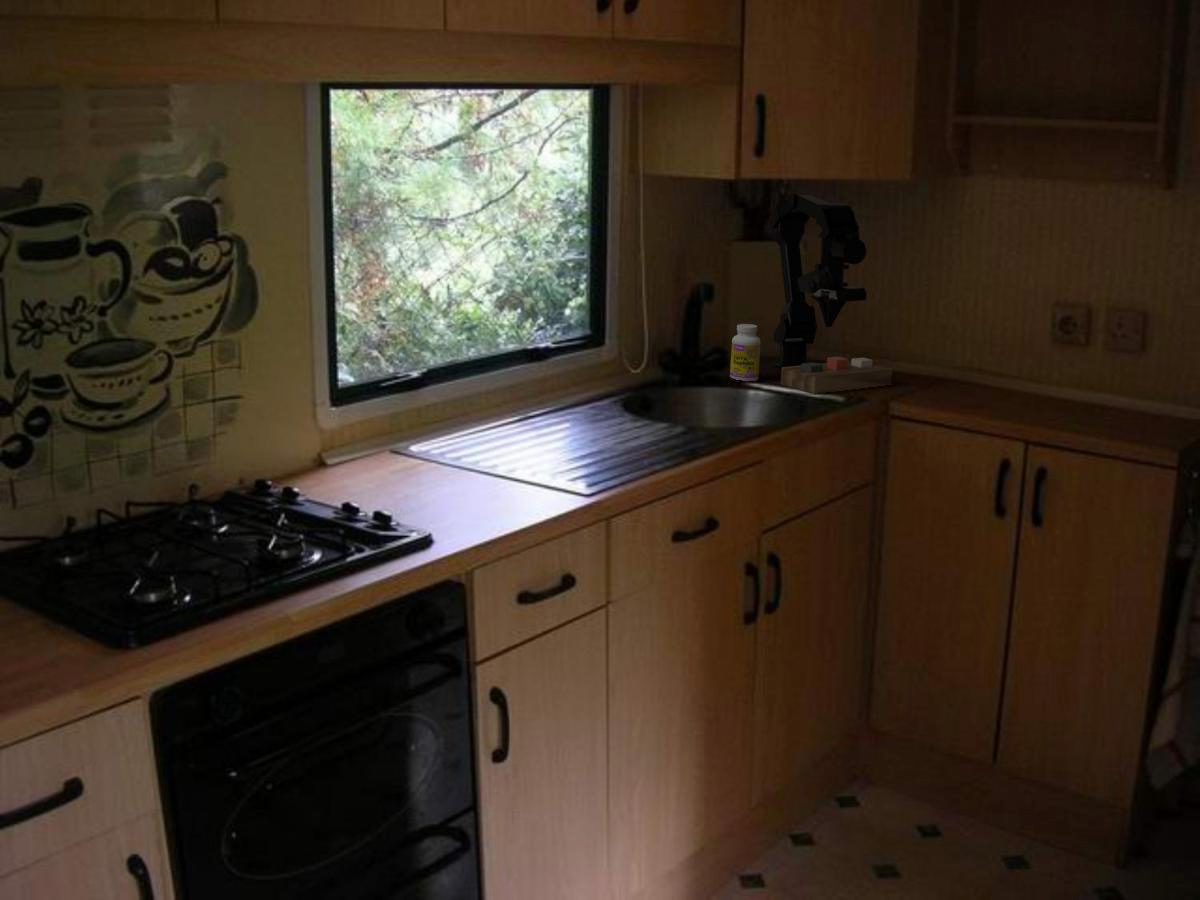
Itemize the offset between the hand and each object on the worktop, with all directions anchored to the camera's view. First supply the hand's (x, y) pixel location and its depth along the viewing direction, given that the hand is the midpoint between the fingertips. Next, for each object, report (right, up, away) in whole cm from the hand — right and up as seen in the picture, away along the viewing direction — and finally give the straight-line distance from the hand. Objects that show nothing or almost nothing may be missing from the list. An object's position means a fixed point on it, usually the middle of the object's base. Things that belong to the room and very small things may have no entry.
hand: (828, 326), depth 316 cm
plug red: (+2, -12, 0) cm, 12 cm away
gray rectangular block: (-5, -14, -4) cm, 15 cm away
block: (+2, -13, 0) cm, 14 cm away
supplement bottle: (-19, -12, +4) cm, 23 cm away
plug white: (+8, -12, +4) cm, 15 cm away
